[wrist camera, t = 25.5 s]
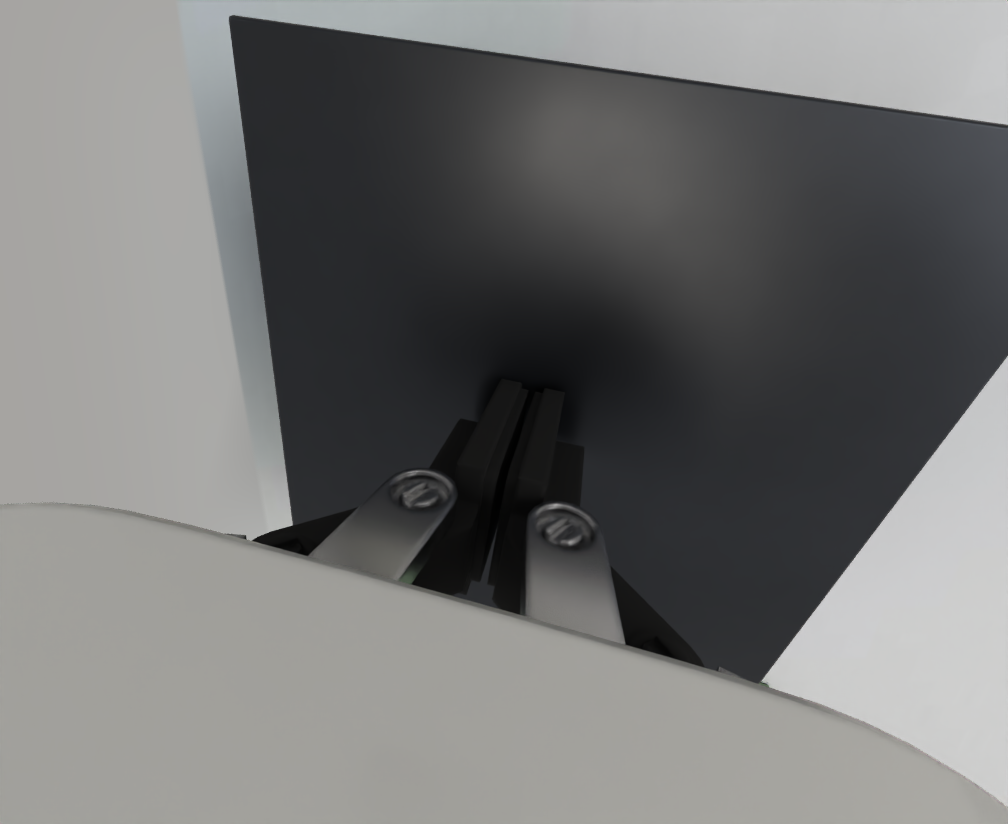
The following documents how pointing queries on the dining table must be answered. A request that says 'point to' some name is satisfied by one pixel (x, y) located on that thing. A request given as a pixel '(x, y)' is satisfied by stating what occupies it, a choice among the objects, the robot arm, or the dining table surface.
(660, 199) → the black box top
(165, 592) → the robot arm
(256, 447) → the dining table surface
